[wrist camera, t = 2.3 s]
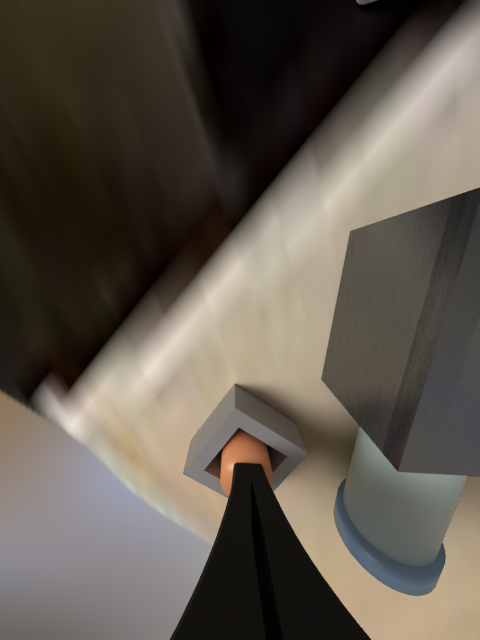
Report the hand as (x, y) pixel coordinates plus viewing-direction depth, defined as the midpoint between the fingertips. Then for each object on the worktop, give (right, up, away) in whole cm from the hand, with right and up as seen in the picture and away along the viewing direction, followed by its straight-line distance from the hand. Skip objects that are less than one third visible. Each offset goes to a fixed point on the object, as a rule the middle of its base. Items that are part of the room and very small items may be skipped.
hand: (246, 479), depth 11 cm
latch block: (0, +1, +3) cm, 3 cm away
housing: (+9, +8, +2) cm, 12 cm away
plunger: (0, +1, +3) cm, 3 cm away
